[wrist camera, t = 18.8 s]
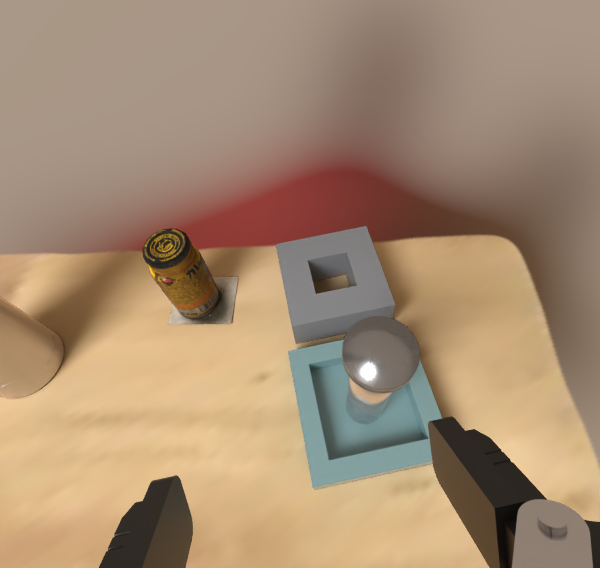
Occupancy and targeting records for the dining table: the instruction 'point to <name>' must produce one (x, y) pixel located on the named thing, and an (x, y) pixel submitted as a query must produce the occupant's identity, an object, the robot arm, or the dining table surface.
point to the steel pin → (377, 364)
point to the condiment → (188, 280)
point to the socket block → (329, 263)
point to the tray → (354, 436)
